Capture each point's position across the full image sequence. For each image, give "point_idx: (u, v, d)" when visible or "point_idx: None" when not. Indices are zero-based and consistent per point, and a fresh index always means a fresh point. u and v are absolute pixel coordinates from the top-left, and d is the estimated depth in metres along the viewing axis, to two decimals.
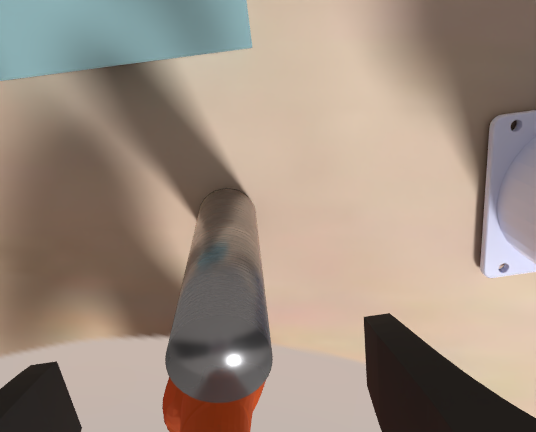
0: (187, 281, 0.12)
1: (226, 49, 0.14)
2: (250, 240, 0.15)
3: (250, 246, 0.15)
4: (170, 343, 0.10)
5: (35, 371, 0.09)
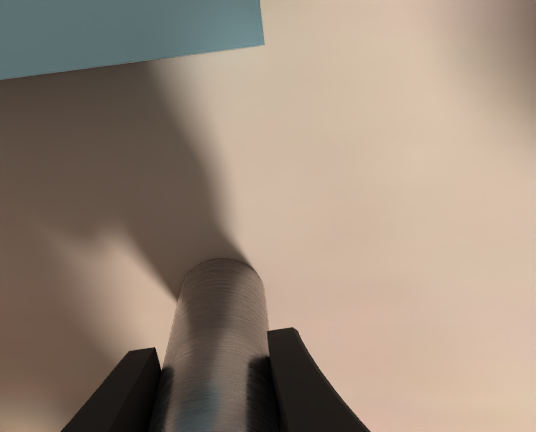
0: None
1: (217, 48, 0.08)
2: (260, 385, 0.09)
3: (262, 404, 0.08)
4: None
5: (138, 355, 0.09)
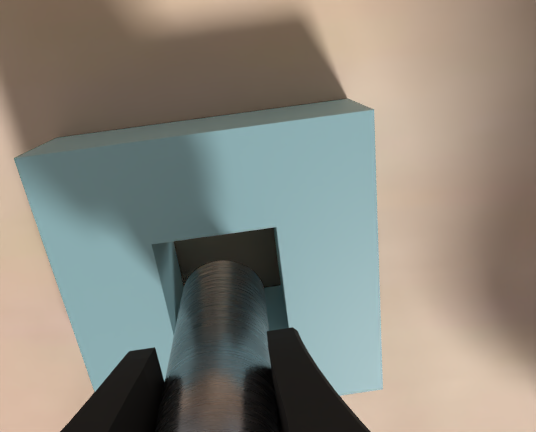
0: None
1: (358, 391, 0.16)
2: (258, 386, 0.09)
3: (260, 405, 0.08)
4: None
5: (137, 356, 0.09)
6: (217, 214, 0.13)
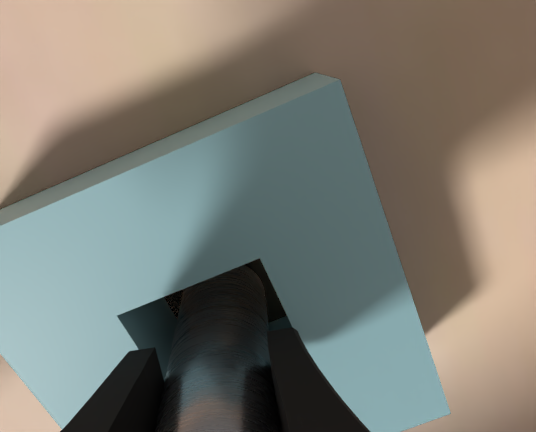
0: None
1: None
2: (259, 386, 0.09)
3: (260, 405, 0.08)
4: None
5: (138, 356, 0.09)
6: (315, 316, 0.11)
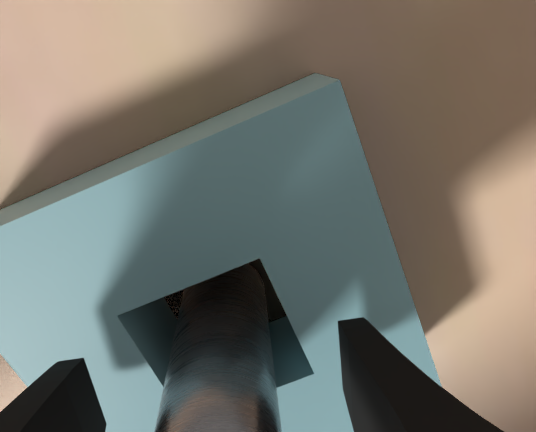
0: None
1: None
2: (258, 375, 0.09)
3: (260, 392, 0.09)
4: None
5: (63, 367, 0.09)
6: (315, 316, 0.11)
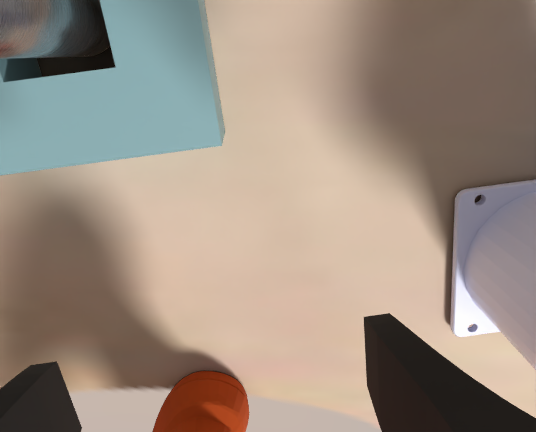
0: None
1: (197, 147, 0.16)
2: None
3: None
4: None
5: (35, 371, 0.09)
6: None
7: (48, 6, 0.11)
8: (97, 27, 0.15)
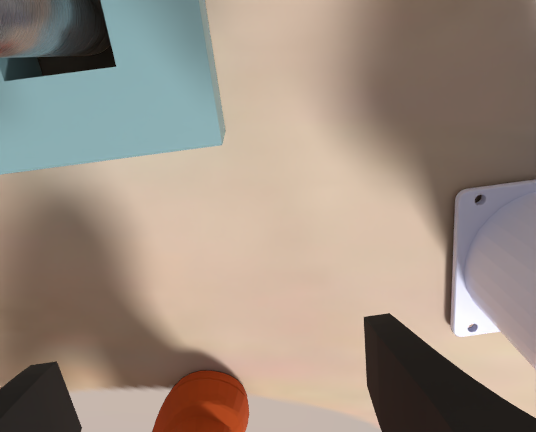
0: None
1: (198, 146, 0.16)
2: None
3: None
4: None
5: (34, 371, 0.09)
6: None
7: (49, 5, 0.11)
8: (98, 26, 0.15)
